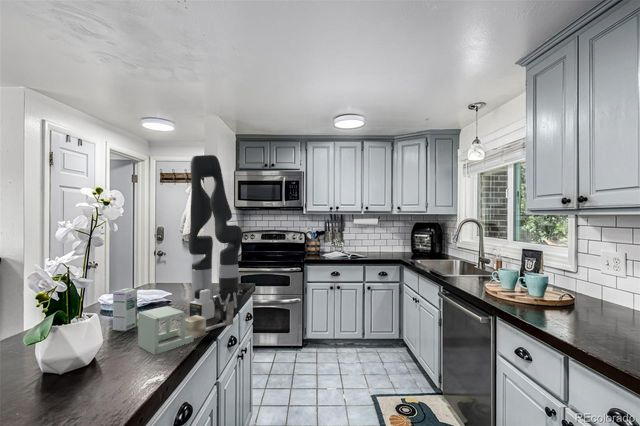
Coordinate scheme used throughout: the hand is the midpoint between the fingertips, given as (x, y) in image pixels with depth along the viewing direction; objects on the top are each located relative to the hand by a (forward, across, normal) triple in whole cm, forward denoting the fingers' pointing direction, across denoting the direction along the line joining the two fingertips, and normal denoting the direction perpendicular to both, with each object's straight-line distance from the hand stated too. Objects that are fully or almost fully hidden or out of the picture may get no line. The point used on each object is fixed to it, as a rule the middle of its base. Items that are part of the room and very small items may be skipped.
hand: (228, 318), depth 127 cm
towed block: (+2, +8, 0) cm, 9 cm away
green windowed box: (+2, +25, 0) cm, 25 cm away
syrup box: (+2, +27, -27) cm, 38 cm away
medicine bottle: (+2, +2, -15) cm, 15 cm away
